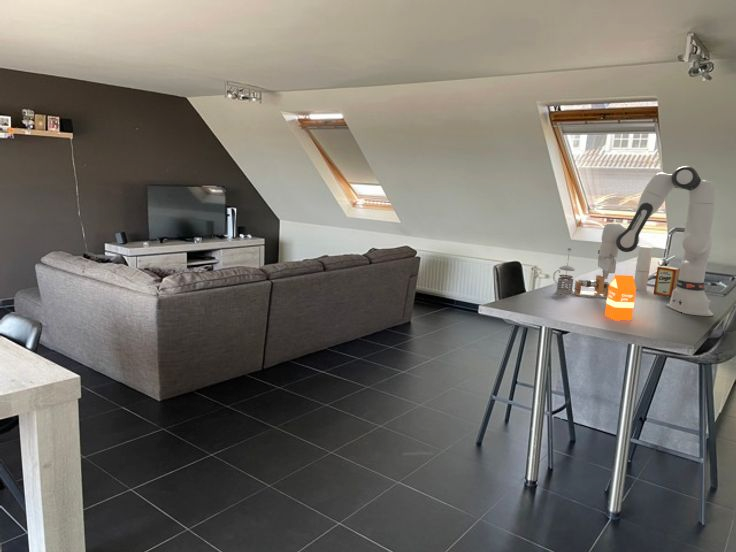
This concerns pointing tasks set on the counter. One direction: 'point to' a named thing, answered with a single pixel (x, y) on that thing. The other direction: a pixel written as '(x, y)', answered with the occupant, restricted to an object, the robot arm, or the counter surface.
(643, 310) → the counter surface
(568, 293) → the french press
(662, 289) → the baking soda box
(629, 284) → the orange juice
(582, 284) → the pipe rig
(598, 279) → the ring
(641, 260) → the cylindrical container
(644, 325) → the counter surface
